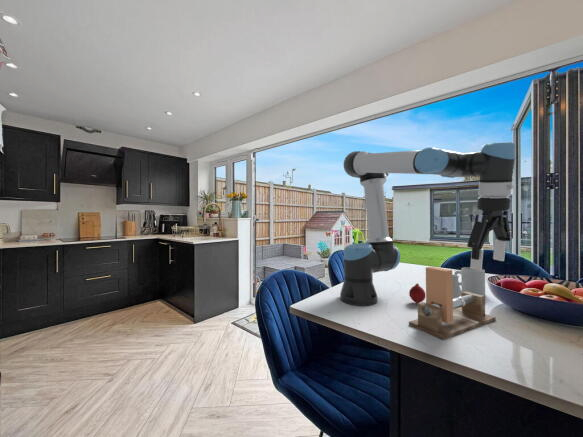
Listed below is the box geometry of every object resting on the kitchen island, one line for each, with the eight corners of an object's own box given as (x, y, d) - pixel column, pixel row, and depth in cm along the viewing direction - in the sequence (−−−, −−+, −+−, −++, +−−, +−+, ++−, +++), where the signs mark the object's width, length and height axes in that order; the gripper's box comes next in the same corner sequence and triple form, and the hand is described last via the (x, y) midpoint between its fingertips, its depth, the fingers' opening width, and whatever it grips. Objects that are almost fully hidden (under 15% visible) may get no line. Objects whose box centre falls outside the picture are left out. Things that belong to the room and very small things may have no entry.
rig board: (443, 339, 69) (442, 313, 69) (408, 324, 79) (408, 301, 79) (495, 320, 81) (495, 297, 81) (460, 309, 91) (460, 289, 91)
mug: (489, 294, 107) (488, 269, 107) (480, 298, 103) (479, 272, 103) (459, 288, 118) (458, 265, 118) (449, 291, 113) (449, 267, 113)
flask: (469, 302, 98) (468, 277, 98) (448, 301, 99) (448, 277, 99) (460, 296, 105) (460, 273, 105) (441, 296, 106) (441, 273, 106)
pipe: (431, 318, 73) (431, 307, 73) (421, 314, 76) (421, 304, 76) (480, 303, 84) (480, 294, 84) (470, 301, 87) (470, 292, 87)
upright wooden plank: (447, 323, 73) (446, 271, 73) (426, 315, 79) (425, 267, 79) (453, 321, 74) (452, 270, 74) (432, 313, 80) (431, 266, 80)
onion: (425, 307, 94) (424, 286, 94) (408, 304, 97) (408, 284, 97) (426, 302, 99) (425, 282, 99) (410, 300, 102) (410, 281, 102)
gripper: (486, 201, 64) (480, 277, 67) (529, 193, 75) (521, 259, 79) (456, 199, 70) (451, 269, 74) (499, 192, 82) (493, 253, 85)
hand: (487, 264), depth 76 cm, fingers open, 13 cm apart
